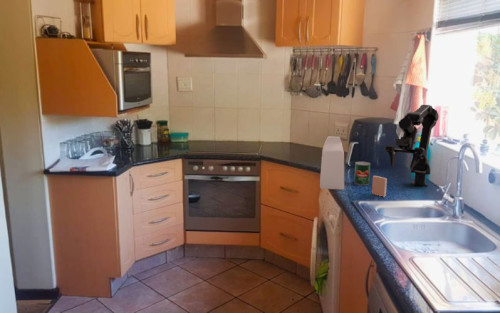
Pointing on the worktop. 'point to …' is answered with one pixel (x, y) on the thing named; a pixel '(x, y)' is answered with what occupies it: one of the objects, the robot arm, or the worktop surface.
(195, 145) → the worktop surface
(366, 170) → the canned tomato
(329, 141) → the milk
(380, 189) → the tile
